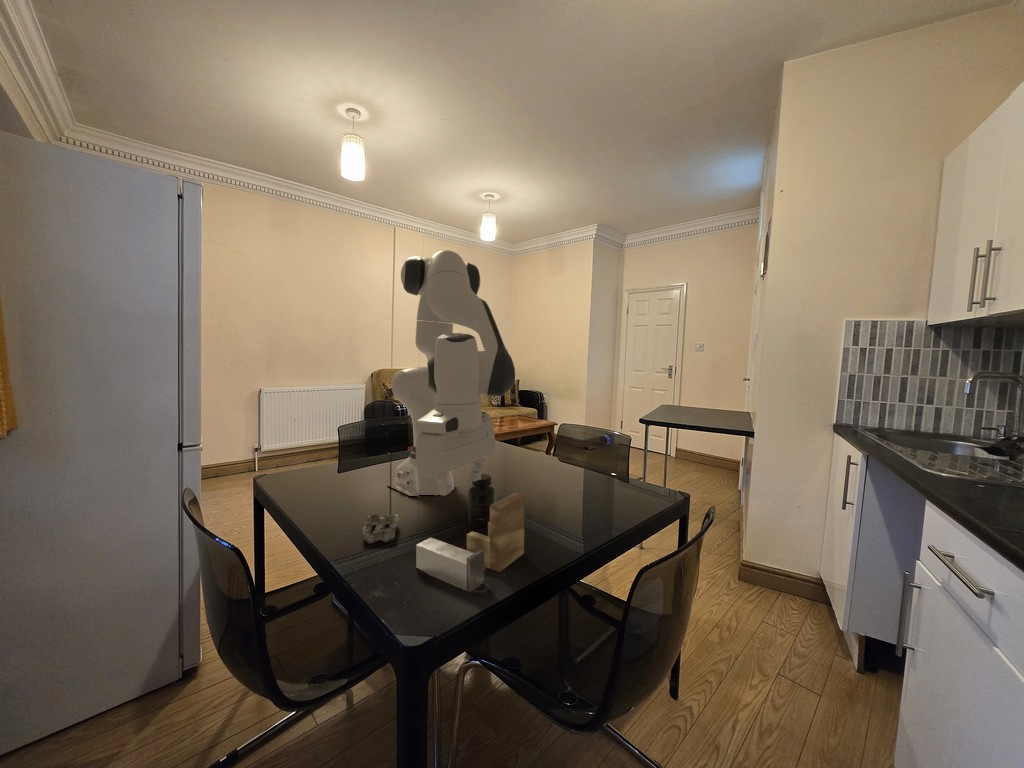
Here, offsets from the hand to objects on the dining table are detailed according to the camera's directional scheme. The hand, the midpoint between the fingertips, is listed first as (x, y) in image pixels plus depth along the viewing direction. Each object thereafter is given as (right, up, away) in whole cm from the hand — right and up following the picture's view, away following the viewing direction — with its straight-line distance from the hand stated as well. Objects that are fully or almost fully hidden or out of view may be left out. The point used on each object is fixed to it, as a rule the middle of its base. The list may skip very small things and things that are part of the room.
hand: (461, 486), depth 78 cm
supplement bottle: (+2, -16, +24) cm, 29 cm away
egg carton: (-21, -16, +17) cm, 32 cm away
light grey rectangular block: (-2, -17, -1) cm, 17 cm away
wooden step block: (+7, -17, +7) cm, 19 cm away
